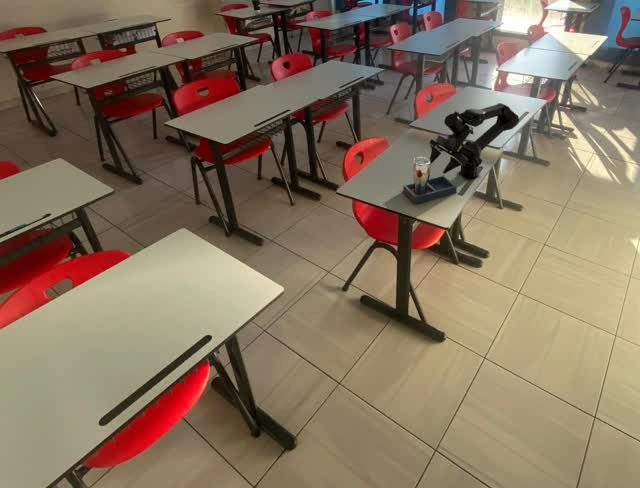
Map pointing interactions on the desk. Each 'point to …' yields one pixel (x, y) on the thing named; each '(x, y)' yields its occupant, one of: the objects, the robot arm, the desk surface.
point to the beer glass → (421, 175)
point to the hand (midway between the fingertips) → (436, 168)
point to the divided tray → (431, 189)
